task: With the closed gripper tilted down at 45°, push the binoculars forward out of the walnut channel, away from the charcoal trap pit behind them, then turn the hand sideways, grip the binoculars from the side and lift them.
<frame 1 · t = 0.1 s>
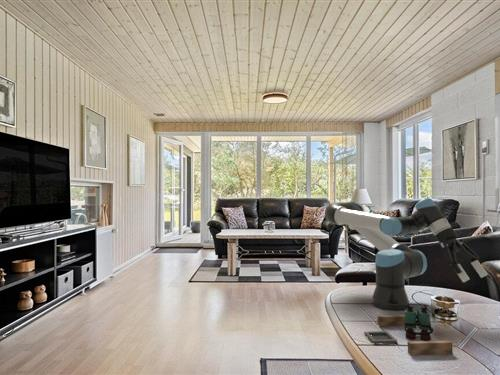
hand: (475, 278, 139), 15 cm above the table, tool tilted 35°, fingers open, 13 cm apart
binoculars: (418, 338, 120), on the table
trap: (380, 338, 120), on the table
channel: (411, 338, 120), on the table
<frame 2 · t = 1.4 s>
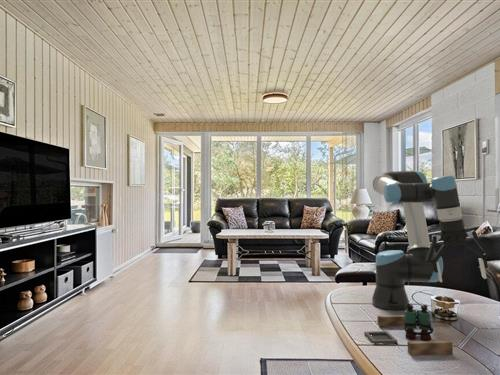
hand: (462, 279, 125), 18 cm above the table, tool pointing down, fingers open, 13 cm apart
nothing on the table moved.
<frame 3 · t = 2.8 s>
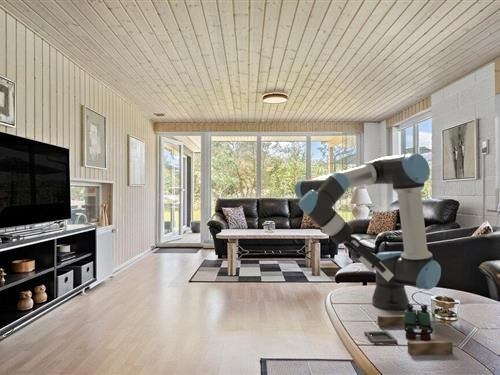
hand: (381, 273, 120), 22 cm above the table, tool tilted 45°, fingers open, 13 cm apart
nothing on the table moved.
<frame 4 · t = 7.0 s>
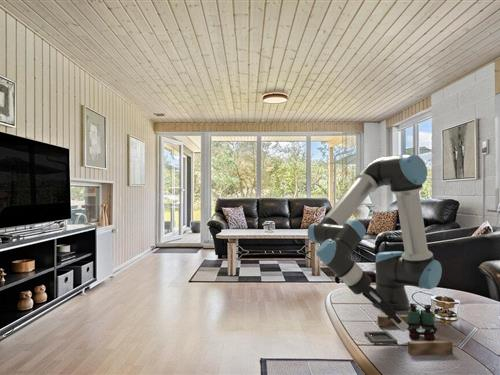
hand: (405, 328, 119), 4 cm above the table, tool tilted 45°, fingers closed
binoculars: (422, 338, 120), on the table, touching gripper
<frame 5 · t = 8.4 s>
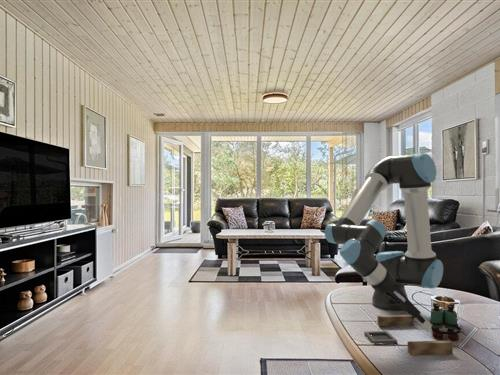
hand: (428, 327, 120), 4 cm above the table, tool tilted 45°, fingers closed
binoculars: (445, 338, 120), on the table, touching gripper
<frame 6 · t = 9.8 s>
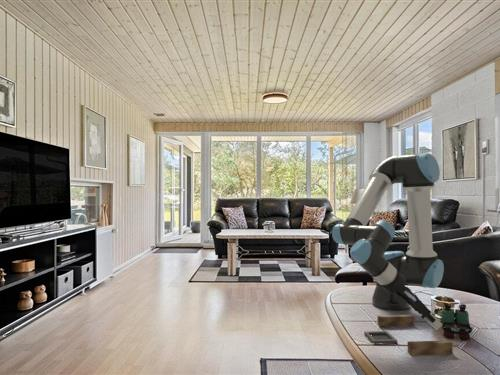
hand: (438, 326, 120), 4 cm above the table, tool tilted 45°, fingers closed
binoculars: (456, 337, 121), on the table, touching gripper
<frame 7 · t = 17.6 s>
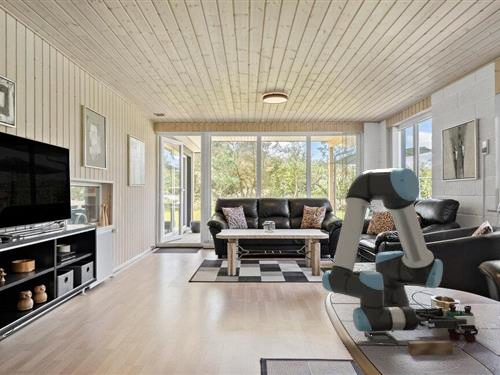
hand: (467, 317, 121), 7 cm above the table, tool horizontal, fingers open, 5 cm apart
binoculars: (462, 339, 119), on the table, touching gripper
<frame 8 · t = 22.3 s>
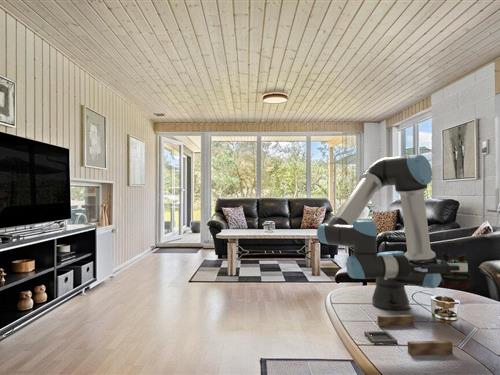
hand: (461, 265, 121), 24 cm above the table, tool horizontal, fingers closed on binoculars, 5 cm apart
binoculars: (456, 287, 119), point 17 cm above the table, touching gripper
at the end: the gripper is holding binoculars; binoculars point 17.2 cm above the table; binoculars moved 21.0 cm from its start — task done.
